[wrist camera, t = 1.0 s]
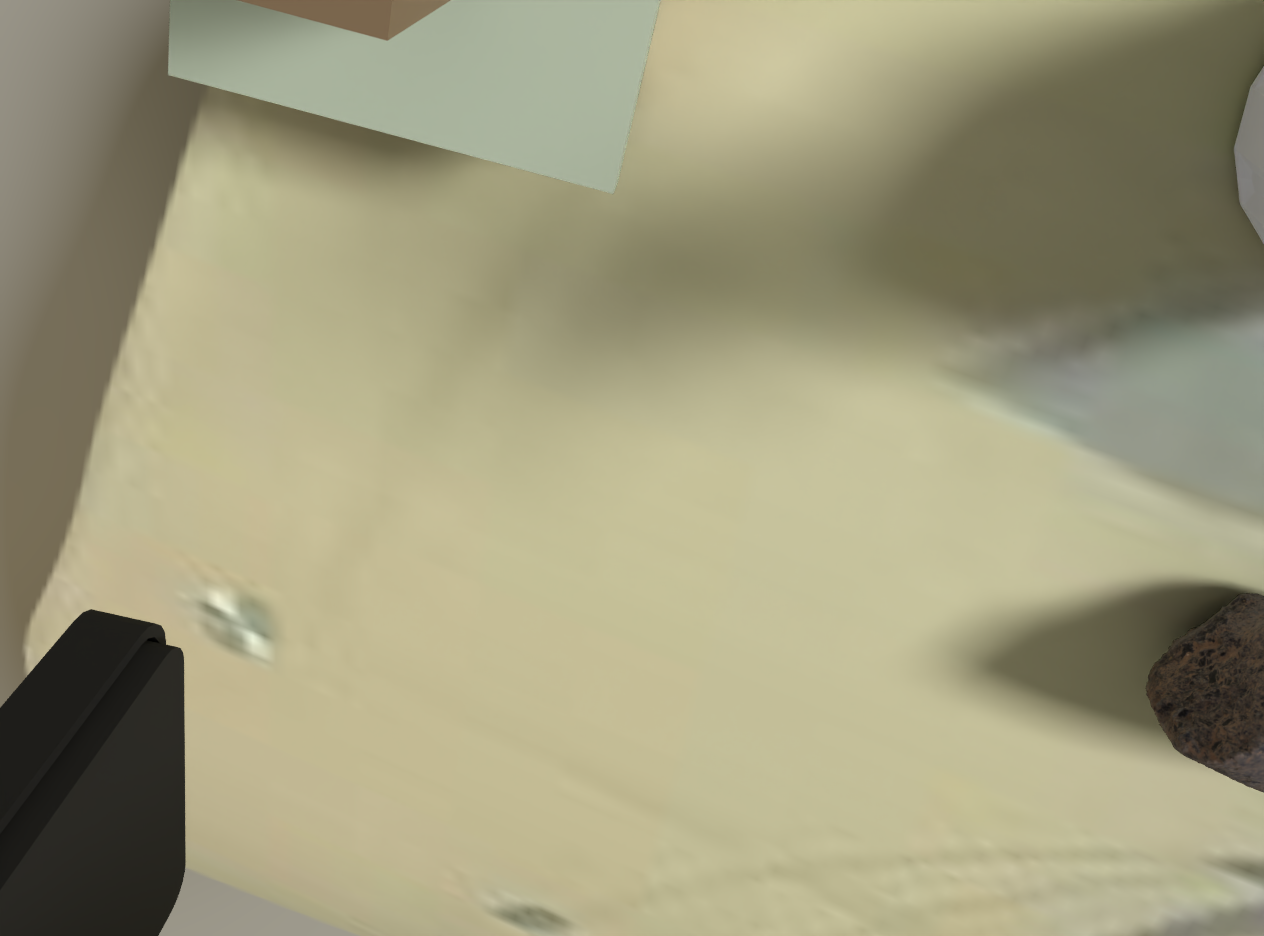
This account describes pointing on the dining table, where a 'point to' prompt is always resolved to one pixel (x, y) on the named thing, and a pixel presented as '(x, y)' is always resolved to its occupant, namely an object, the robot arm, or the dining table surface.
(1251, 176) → the soap bottle
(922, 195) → the dining table surface
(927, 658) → the dining table surface
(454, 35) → the lid
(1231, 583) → the dining table surface
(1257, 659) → the perforated stone tool
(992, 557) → the dining table surface
